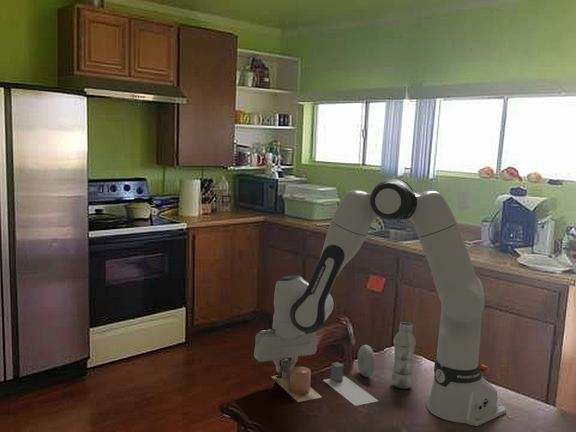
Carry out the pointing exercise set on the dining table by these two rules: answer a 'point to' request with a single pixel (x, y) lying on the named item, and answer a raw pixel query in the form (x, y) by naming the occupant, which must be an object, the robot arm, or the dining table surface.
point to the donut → (366, 360)
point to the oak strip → (285, 384)
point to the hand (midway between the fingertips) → (285, 370)
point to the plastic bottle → (403, 357)
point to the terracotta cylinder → (300, 380)
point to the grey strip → (347, 386)
